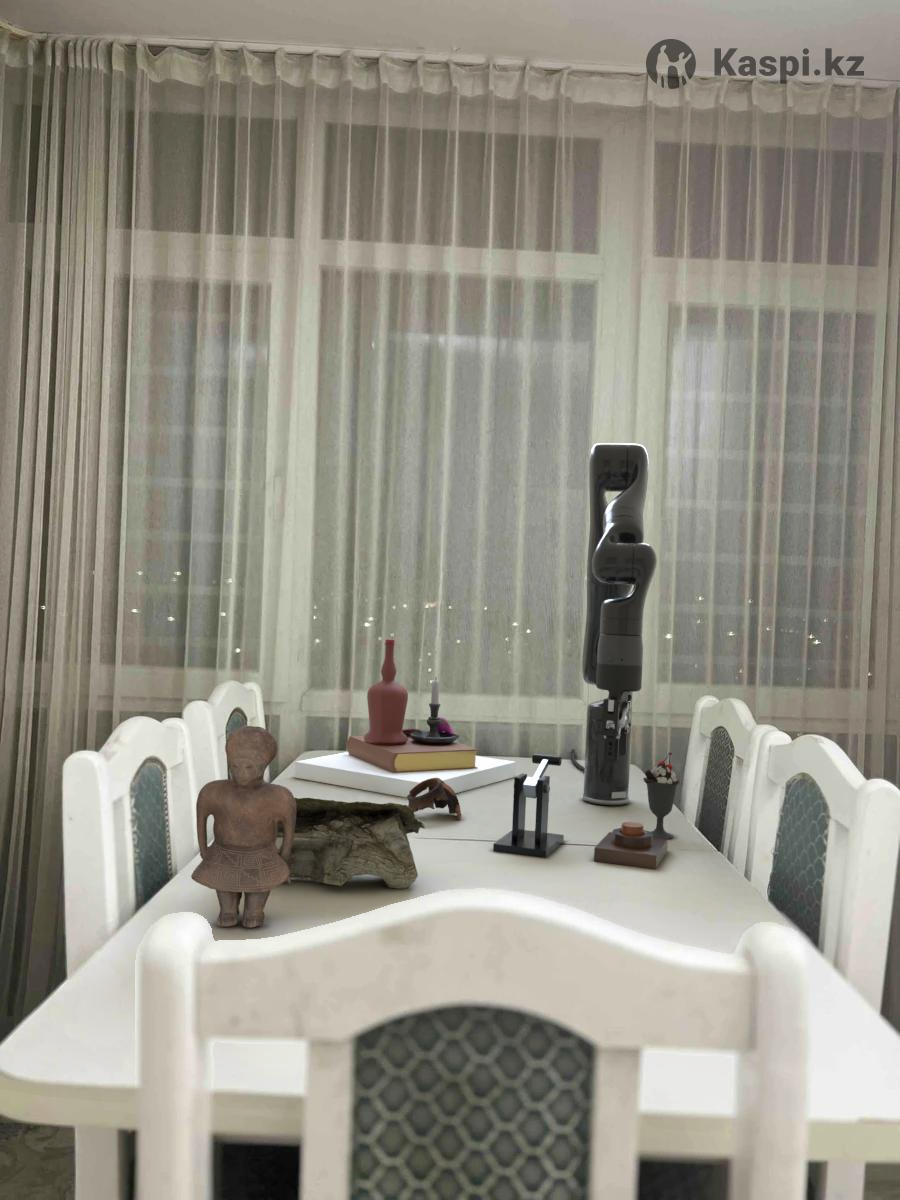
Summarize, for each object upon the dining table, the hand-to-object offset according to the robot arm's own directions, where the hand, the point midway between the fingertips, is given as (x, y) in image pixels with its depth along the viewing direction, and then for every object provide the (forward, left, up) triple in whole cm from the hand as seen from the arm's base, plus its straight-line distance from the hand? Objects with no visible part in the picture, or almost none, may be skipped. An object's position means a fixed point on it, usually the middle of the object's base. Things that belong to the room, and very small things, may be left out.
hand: (615, 758), depth 176 cm
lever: (-2, -13, -5) cm, 15 cm away
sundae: (-16, +6, -16) cm, 23 cm away
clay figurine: (+59, -35, -16) cm, 71 cm away
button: (+1, +4, -12) cm, 13 cm away
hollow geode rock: (+37, -34, -16) cm, 53 cm away
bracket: (+3, -13, -16) cm, 21 cm away
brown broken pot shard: (-10, -35, -16) cm, 40 cm away
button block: (+1, +4, -16) cm, 16 cm away
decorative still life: (-45, -54, -16) cm, 72 cm away
